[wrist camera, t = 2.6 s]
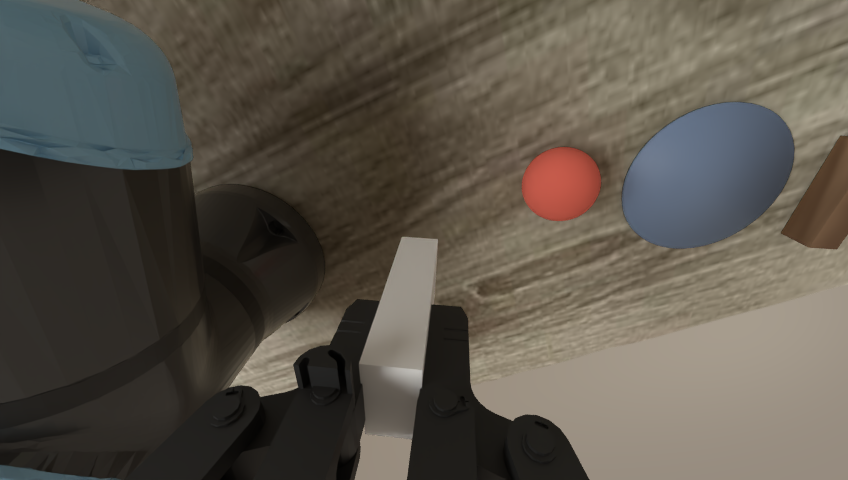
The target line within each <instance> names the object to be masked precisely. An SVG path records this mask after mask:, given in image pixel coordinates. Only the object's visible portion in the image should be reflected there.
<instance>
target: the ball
mask: <svg viewBox="0 0 848 480" xmlns="http://www.w3.org/2000/svg"><path fill="white" fill-rule="evenodd" d="M600 188H601V175H600V171H599V169H598V167H597V165H596V163H595V162H594V160H593V159H592V158H591V157H590V156H589V155H587V154H586V153H584V152H583V151H580V150H578V149H575V148H571V147H558V148H553V149H550V150H547V151H545V152H543V153H541V154H540V155H538V156H537V157H536V158H535V159H534V160H533V161H532V162H531V163H530V164H529V166H528V167H527V169H526V171H525V173H524V176H523V180H522V193H523V197H524V200H525V202H526V204H527V205H528V206H529V208H530V209H531V210H532V211H533V212H534V213H536V214H537V215H539V216H540V217H542V218H545V219H548V220H553V221H565V220H570V219H573V218H576V217H578V216H580V215H582V214H583V213H585V212H586V211H587V210H588V209H589V208H590V207H591V206H592V205H593V204H594V202H595V201H596V199H597V197H598V194H599V192H600Z"/></svg>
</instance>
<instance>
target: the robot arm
mask: <svg viewBox="0 0 848 480" xmlns="http://www.w3.org/2000/svg"><path fill="white" fill-rule="evenodd" d="M192 159H193V148H192V147H191V141H190V139H189V137H188V136H187V134H186V133H185V128H184V123H183V118H182V112H181V107H180V101H179V96H178V91H177V85H176V80H175V76H174V73H173V70H172V67H171V65H170V63H169V61H168V59H167V58H166V56H165V54H164V53H163V52H162V50H161V49H160V48H159V47H158V46H157V45H156V44H155V42H154V41H153V40H152V39H151V38H150V37H148V36H147V35H146V34H145V33H143V32H142V31H141V30H140V29H138V28H137V27H135V26H134V25H132V24H131V23H129V22H127V21H125V20H124V19H122V18H120V17H118V16H116V15H113V14H111V13H109V12H107V11H104V10H102V9H99V8H97V7H94V6H92V5H89V4H87V3H84V2H82V1H79V0H0V480H354V479H355V475H356V471H357V467H358V463H359V459H360V439H361V435H362V431H363V428H364V425H365V434H370V435H378V436H387V437H396V438H405V439H412V446H411V453H410V461H409V469H408V477H407V480H589V478H588V477H587V474H586V473H585V471H584V469H583V467H582V465H581V463H580V461H579V459H578V458H577V456H576V454H575V452H574V450H573V448H572V446H571V444H570V442H569V441H568V439H567V438H566V436H565V435H564V434H563V432H562V431H561V429H560V428H558V427H557V426H556V425H554V424H553V423H552V422H551V421H549V420H547V419H545V418H543V417H540V416H537V415H523V416H520V417H517V418H515V419H514V421H511V420H509V419H506V418H504V417H502V416H499V415H497V414H495V413H493V412H491V411H489V410H488V409H486V408H485V407H484V406H483V405H482V404H480V402H479V401H478V400H477V399H476V397H475V396H474V394H473V392H472V389H471V384H470V363H469V337H468V318H467V316H466V314H465V313H464V311H463V309H462V308H461V307H456V306H444V305H434V299H435V286H436V268H437V250H438V239H428V238H414V237H402V238H401V241H400V244H399V247H398V250H397V253H396V256H395V259H394V262H393V265H392V268H391V270H390V273H389V276H388V279H387V282H386V285H385V288H384V291H383V294H382V297H381V300H380V301H373V300H361V299H357V300H356V301H355V302H354V303H353V304H352V305H350V306H349V307H348V308H347V309H346V312H345V314H344V316H343V318H342V320H341V322H340V324H339V326H338V329H337V332H336V333H335V335H334V337H333V339H332V341H331V344H330V345H327V346H319V347H316V348H313V349H310V350H308V351H307V352H305V353H304V354H302V355H301V356H300V357H299V358H298V359H297V360H296V362H295V363H294V364H293V366H294V370H295V374H296V379H297V383H298V388H296V389H294V390H292V391H288V392H285V393H279V394H274V395H269V396H264V397H260V396H259V394H258V392H257V391H256V390H255V389H253V388H252V387H249V386H242V385H241V386H235V387H230V388H229V386H230V385H231V383H232V382H233V381H234V379H235V378H236V376H237V375H238V374H239V372H240V371H241V369H242V368H243V367H244V365H245V364H246V362H247V361H248V359H249V358H250V357H251V355H252V354H253V353H254V351H255V350H256V348H257V347H258V346H259V344H260V343H261V342H262V341H263V340H264V339H265V338H267V337H268V336H270V335H271V334H272V333H274V332H275V331H276V330H277V329H279V328H280V327H281V326H282V325H283V324H284V323H286V322H289V321H291V320H292V319H294V318H296V317H297V316H298V315H300V314H301V313H302V312H303V311H304V310H305V309H306V308H307V307H308V306H309V305H310V303H311V302H312V300H313V299H314V297H315V296H316V294H317V292H318V291H319V289H320V287H321V285H322V282H323V279H324V272H325V263H324V256H323V252H322V249H321V246H320V244H319V241H318V239H317V237H316V236H315V234H314V232H313V231H312V229H311V228H310V226H309V225H308V224H307V222H306V221H305V220H304V219H303V218H302V217H301V216H300V215H299V214H298V213H297V212H296V211H295V210H294V209H293V208H291V207H290V206H289V205H287V204H286V203H285V202H283V201H282V200H280V199H278V198H277V197H275V196H273V195H271V194H269V193H267V192H264V191H262V190H259V189H256V188H252V187H248V186H243V185H232V184H228V185H218V186H214V187H210V188H208V189H205V190H203V191H201V192H199V193H197V194H195V195H194V188H193V180H192V172H191V164H190V161H192Z"/></svg>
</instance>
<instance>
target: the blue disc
mask: <svg viewBox="0 0 848 480" xmlns="http://www.w3.org/2000/svg"><path fill="white" fill-rule="evenodd" d="M793 160H794V143H793V138H792V135H791V132H790V130H789V128H788V127H787V125H786V123H785V122H784V121H783V120H782V119H781V118H780V117H779V116H778V115H777V114H775V113H774V112H773V111H771V110H769V109H767V108H765V107H762V106H759V105H755V104H752V103H743V102H725V103H719V104H713V105H709V106H706V107H702V108H699V109H697V110H694V111H692V112H689V113H687V114H685V115H683V116H681V117H679V118H678V119H676V120H674V121H673V122H671V123H670V124H668V125H667V126H665V127H664V128H663V129H661V130H660V131H659V132H658V133H657V134H655V135H654V136H653V137H652V138H651V139H650V140H649V141H648V142H647V143H646V145H645V146H644V147H643V148H642V149H641V150H640V152H639V153H638V155H637V156H636V157H635V159H634V160H633V162H632V164H631V166H630V168H629V170H628V172H627V175H626V177H625V181H624V185H623V189H622V207H623V212H624V215H625V218H626V220H627V222H628V223H629V225H630V227H631V228H632V229H633V230H634V231H635V232H636V233H637V234H638V235H639V236H641V237H642V238H643V239H645V240H647V241H648V242H650V243H653V244H655V245H659V246H662V247H668V248H694V247H699V246H704V245H708V244H711V243H715V242H717V241H720V240H722V239H725V238H727V237H729V236H731V235H733V234H735V233H737V232H738V231H740V230H742V229H743V228H745V227H746V226H748V225H749V224H751V223H752V222H753V221H755V220H756V219H757V218H758V217H759V216H761V215H762V214H763V213H764V212H765V211H766V210H767V209H768V208H769V207H770V206H771V204H772V203H773V202H774V201H775V199H776V198H777V197H778V195H779V194H780V192H781V191H782V189H783V188H784V186H785V184H786V182H787V180H788V178H789V175H790V172H791V169H792V165H793Z"/></svg>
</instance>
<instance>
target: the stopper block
mask: <svg viewBox="0 0 848 480" xmlns="http://www.w3.org/2000/svg"><path fill="white" fill-rule="evenodd" d="M781 234H783V235H785V236H787V237H789V238H791V239H793V240H795V241H797V242H799V243H801V244H803V245H805V246H807V247H810V248H825V249H837V248H838V247H839V246H840V244H841V243H842V241H843V240H844V239H845V237H846V236H847V234H848V136H840V137H839V139H838V141H837V142H836V144H835V146H834V147H833V149H832V150H831V152H830V154H829V155H828V157H827V159H826V160H825V162H824V164H823V165H822V167H821V168H820V170H819V172H818V173H817V175H816V177H815V178H814V180H813V181H812V183H811V185H810V186H809V188H808V190H807V191H806V193H805V195H804V196H803V198H802V199H801V201H800V203H799V204H798V206H797V208H796V209H795V211H794V213H793V214H792V216H791V217H790V219H789V221H788V222H787V224H786V226H785V227H784V229H783V230H782V232H781Z"/></svg>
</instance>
